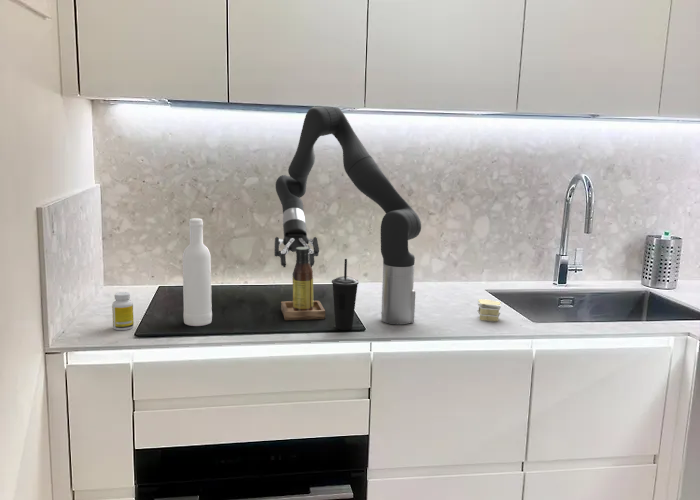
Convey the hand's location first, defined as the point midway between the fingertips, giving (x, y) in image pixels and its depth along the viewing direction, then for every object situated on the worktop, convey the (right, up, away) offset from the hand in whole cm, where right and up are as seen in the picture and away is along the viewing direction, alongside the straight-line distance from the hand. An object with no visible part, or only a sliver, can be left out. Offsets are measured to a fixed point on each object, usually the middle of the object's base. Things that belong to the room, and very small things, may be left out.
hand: (298, 266), depth 199 cm
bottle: (-27, -16, -18) cm, 37 cm away
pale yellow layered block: (+59, -16, -7) cm, 61 cm away
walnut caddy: (+2, -15, -7) cm, 16 cm away
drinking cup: (+15, -17, -20) cm, 30 cm away
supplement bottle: (-46, -17, -25) cm, 55 cm away
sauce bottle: (+2, -14, -7) cm, 16 cm away
